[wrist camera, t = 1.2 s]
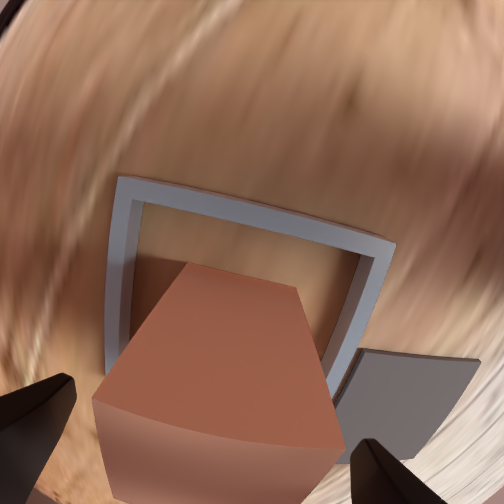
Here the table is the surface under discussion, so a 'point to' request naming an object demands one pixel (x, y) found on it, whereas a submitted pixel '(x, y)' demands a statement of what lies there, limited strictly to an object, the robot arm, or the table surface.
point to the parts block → (218, 398)
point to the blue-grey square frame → (252, 214)
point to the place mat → (399, 399)
